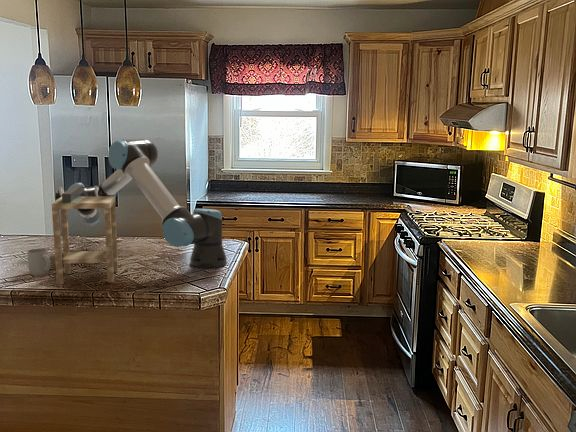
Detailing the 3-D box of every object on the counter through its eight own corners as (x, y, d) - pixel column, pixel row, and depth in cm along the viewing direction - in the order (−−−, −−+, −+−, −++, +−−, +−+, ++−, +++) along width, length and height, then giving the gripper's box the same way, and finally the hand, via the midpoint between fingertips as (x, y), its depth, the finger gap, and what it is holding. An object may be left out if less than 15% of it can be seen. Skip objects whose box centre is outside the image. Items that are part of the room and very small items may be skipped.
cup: (40, 269, 231) (39, 247, 230) (57, 272, 227) (56, 250, 225) (24, 273, 225) (23, 251, 223) (42, 277, 220) (40, 254, 219)
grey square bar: (83, 191, 233) (83, 184, 233) (71, 202, 208) (70, 193, 208) (75, 191, 233) (75, 184, 232) (62, 202, 208) (61, 194, 207)
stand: (118, 270, 231) (114, 195, 225) (113, 282, 215) (109, 202, 210) (65, 272, 227) (60, 196, 222) (56, 284, 212) (51, 202, 206)
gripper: (116, 214, 252) (110, 197, 232) (55, 215, 248) (44, 198, 228) (116, 198, 254) (110, 180, 235) (56, 199, 250) (45, 180, 230)
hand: (77, 188), depth 231 cm, fingers open, 13 cm apart
